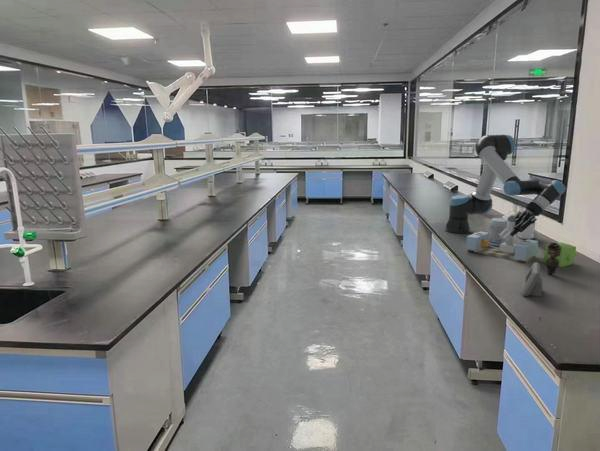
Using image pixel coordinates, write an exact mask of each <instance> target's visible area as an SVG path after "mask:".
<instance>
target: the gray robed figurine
mask: <svg viewBox="0 0 600 451" xmlns="http://www.w3.org/2000/svg"><path fill="white" fill-rule="evenodd" d="M521 294H522V296H524V297H528V296H530V295H531V296H535V297H542V294H543V279H542V278H541V264H540V263H539V262H533V263H532V266H531V267H530V269H529V270H528V272H527V274H526V276H525V277H524V279H523V280H522V285H521Z"/></svg>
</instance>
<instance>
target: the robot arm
mask: <svg viewBox="0 0 600 451" xmlns="http://www.w3.org/2000/svg"><path fill="white" fill-rule="evenodd" d="M474 148H475V153H476V155H477V156H478V158H479V159H480V160H481V161H482V160H483V161H484V162H485V164H484V166H483V168H482V169H483V170H482V173H481V175H480V178H479V180H478V184H477V187H476V189H475V190H474V191H473V192H472V193H471V196H470V195H468V194H456V195H453V196H451V198H450V200H449V213H448V220H447V222H446V225H445V229H444V230H445V231H446V232H448V233H453V234H454V233H455V234H468V233H470V232H471V227H470V222H469V215H470V216H471V215H483V214H484V215H485V214H488V213H489V212H490V211H492V208H493V205H494V204H493V199H492V196H491V193H492V190H493V188H494V184H495V182H496V179H497V178H498V179H499V181H501V182H502V184H503V188H502V189H503V192H504V194H505V195H507V196H515V197H516V196H528V195H529V196H530V195H531V196H532V195H536V196H535V197H534V198H533V199H532V200H531V201H530V202H529V203H528V204H527V205H526V206H525V210H523V211H520V210H519V211H517V213H516V214H515V215H514V216H515V217H516V222H515V227H514V229H515V230H514V229H512V230H511V231H510V232H509V233H508V234H507V235H506V233H507V228H506V229H505V230H504V231H503V232H502V233H501V234H500V235H499V236H500V237H501V238H502V239H503V238H504V239H505V240H506V241H508V240H509V239H510V238H511V237H513V236H514V237H515V235H517V232H522V231H524V230H525V229H526V228H527V227H528V226H529V225H531V224H532V223H533V222H534V221H535V222H536V221H537V220H538V219H537V218H536V217H539V216H540V215H541V214H542V213H543V212H544V211H545V210H547V208H548V207H550V206H551V205H552V204H553V203H554V202H555V201H556V200H557V199H558V198H559V197H561V196H562V195H563V194H564V193H565V191H567V190H566V189H567V187H566V186H565V184H563V183H562V182H561V181H559V180H552V181H550V183H549V182H546V181H542V180H540V179H538V178H534V177H532V178H529V179H527V180H521V179H520V178H519V177H518V176H517V175H516V174H515V172H514V171H513V170H512V169H511V167H509V165H508V164H507V162H505V161H506V160H507V157H508V156H509V155H512V154H513V153H514V152H515V148H516V143H515V140H514V138H513V137H512V136H511V135H509V134H486V135H482V136H481V137H480V138H479V139H478V140H477V141H476V142H475V147H474ZM535 222H534V223H535ZM521 229H522V230H521Z"/></svg>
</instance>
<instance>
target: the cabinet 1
mask: <svg viewBox="0 0 600 451" xmlns="http://www.w3.org/2000/svg"><path fill="white" fill-rule="evenodd" d="M482 239H484V240H489V232H488V231H476V232H473V233H472V234H469V235H467V236H466V244H465V249H467V250H468V249H470V250H477V249H479V248H480V247H484V246H481V240H482Z"/></svg>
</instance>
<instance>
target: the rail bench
mask: <svg viewBox="0 0 600 451" xmlns="http://www.w3.org/2000/svg"><path fill="white" fill-rule="evenodd" d="M499 248H500V247H498V246H493V245H491V246H490V245H489V246H487V247H485V246H484V247H480V248H479V249H477V250H470V249H467V251H468V250H470V251H469V252H472V251H474V253H477V252H478V254H482V253H483V255H486V256H492V257H497V258H502V259H506V260H512V261H516V262H521V263H526V264H527V263H528V262H530V261H532V260H534V259H536V255H534V256H533V257H531V258H529V259H527V260H525V261H523V260H518V259H514V256H515V253H509V252H504V251H499Z"/></svg>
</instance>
